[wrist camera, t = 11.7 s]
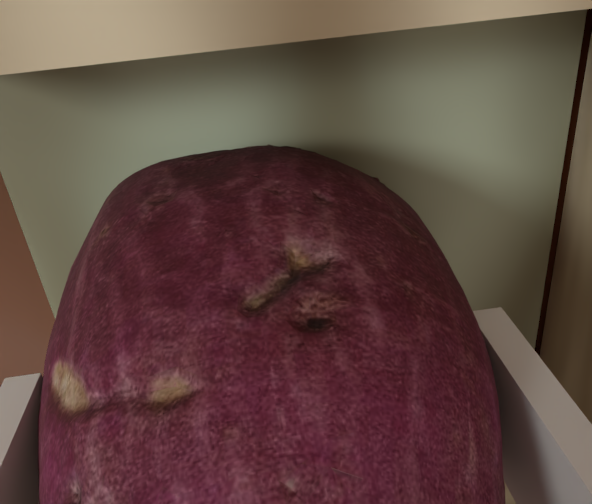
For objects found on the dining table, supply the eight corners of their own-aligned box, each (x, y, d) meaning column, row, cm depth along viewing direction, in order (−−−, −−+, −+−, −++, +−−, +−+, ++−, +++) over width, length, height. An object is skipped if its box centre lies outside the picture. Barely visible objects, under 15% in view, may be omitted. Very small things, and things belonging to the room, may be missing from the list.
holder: (111, 505, 21) (84, 635, 17) (-88, -6, 12) (-236, 16, 8) (555, 435, 22) (628, 543, 18) (657, -83, 13) (841, -97, 9)
